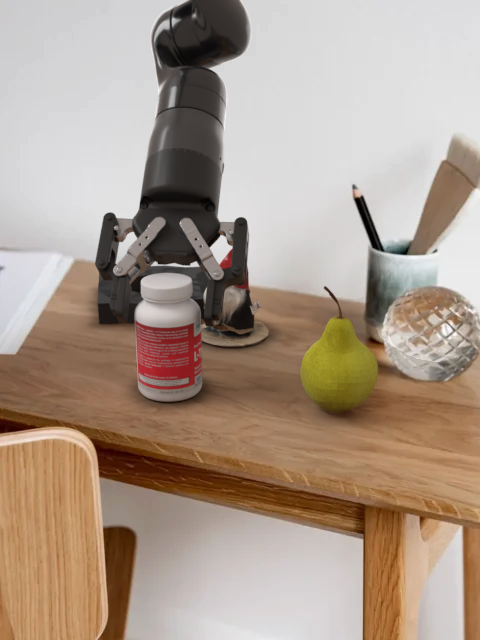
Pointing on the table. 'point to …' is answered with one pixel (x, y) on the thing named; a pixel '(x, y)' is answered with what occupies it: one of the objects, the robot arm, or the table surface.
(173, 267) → the ashtray
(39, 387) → the table surface
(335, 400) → the fruit
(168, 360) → the pill bottle
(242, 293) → the figurine
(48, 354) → the table surface
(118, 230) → the robot arm
